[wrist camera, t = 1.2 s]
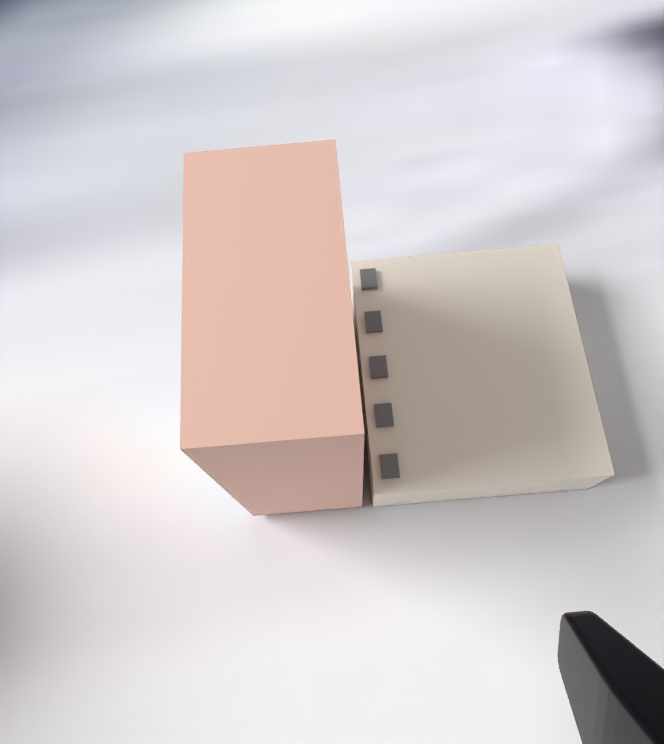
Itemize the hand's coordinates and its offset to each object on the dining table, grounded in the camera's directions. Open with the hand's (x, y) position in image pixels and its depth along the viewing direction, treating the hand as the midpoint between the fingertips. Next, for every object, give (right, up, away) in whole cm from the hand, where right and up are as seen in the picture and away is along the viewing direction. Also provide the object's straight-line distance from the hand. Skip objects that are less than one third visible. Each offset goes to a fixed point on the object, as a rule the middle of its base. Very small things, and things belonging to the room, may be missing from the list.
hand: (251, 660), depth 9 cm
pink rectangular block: (0, +3, +15) cm, 16 cm away
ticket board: (+6, +4, +16) cm, 17 cm away
